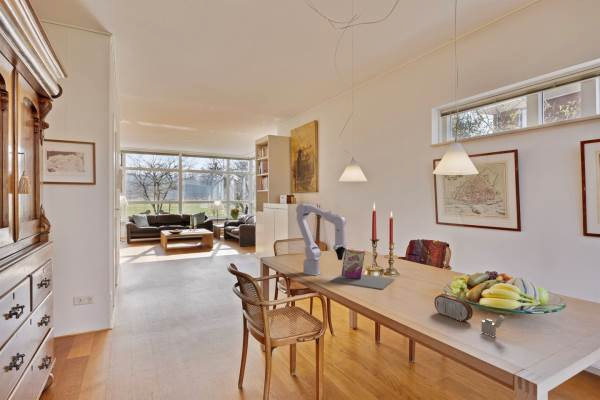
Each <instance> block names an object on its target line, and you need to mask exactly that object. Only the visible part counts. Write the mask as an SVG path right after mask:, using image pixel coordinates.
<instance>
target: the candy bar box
mask: <svg viewBox="0 0 600 400" xmlns="http://www.w3.org/2000/svg"><path fill="white" fill-rule="evenodd" d="M344 247H345V251H344V254H343V259H342V261H343V262H342V268H341V275H342V276H344V277H350V278H357V279H361V274H362V272H363V267H364V260H365V256H366V250H365V249H362V248H361V249H360V248H353V247H347V246H344ZM362 275H363V274H362Z"/></svg>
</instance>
